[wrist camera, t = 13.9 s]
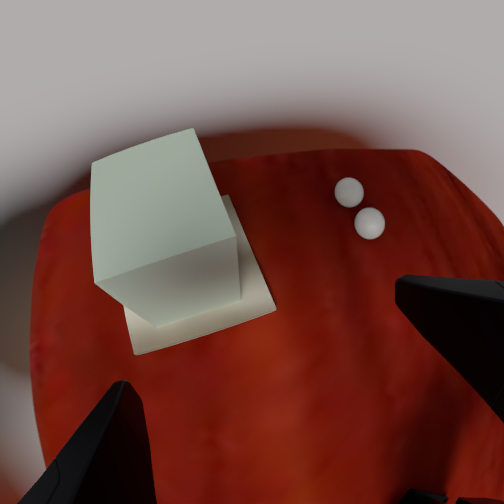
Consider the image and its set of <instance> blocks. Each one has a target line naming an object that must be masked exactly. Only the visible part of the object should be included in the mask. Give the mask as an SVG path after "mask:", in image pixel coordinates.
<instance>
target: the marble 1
mask: <svg viewBox="0 0 504 504" xmlns="http://www.w3.org/2000/svg"><path fill="white" fill-rule="evenodd" d="M363 196H364V190H363V187H362V185H361V184H360V182H359V181H357V180H356V179H354V178H343V179H341V180H340V181H339V182H338V183H337V184H336V187H335V197H336V199H337V201H338V202H339V203H340V204H341V205H343V206H345V207H355V206H357V205H358V204H359V203H360V202H361V201H362V199H363Z"/></svg>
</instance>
